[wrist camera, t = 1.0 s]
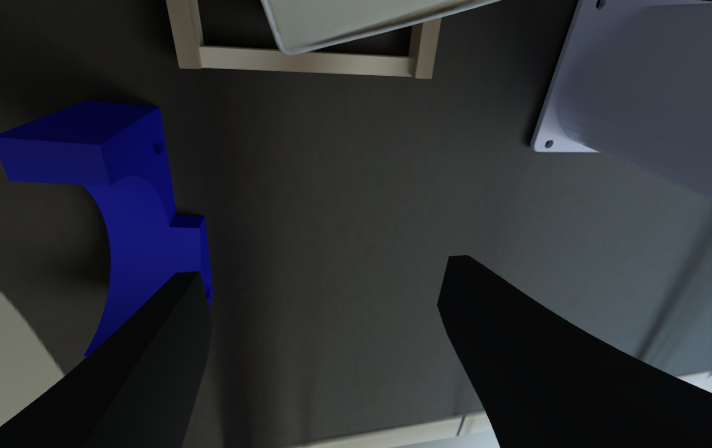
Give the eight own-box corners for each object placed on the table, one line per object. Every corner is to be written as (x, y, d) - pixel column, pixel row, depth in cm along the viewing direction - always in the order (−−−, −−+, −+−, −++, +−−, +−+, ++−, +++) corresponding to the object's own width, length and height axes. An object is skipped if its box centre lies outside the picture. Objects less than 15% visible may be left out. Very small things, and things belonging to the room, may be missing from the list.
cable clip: (213, 291, 22) (190, 370, 17) (139, 292, 21) (92, 375, 16) (194, 109, 16) (149, 148, 11) (90, 99, 15) (-10, 137, 10)
